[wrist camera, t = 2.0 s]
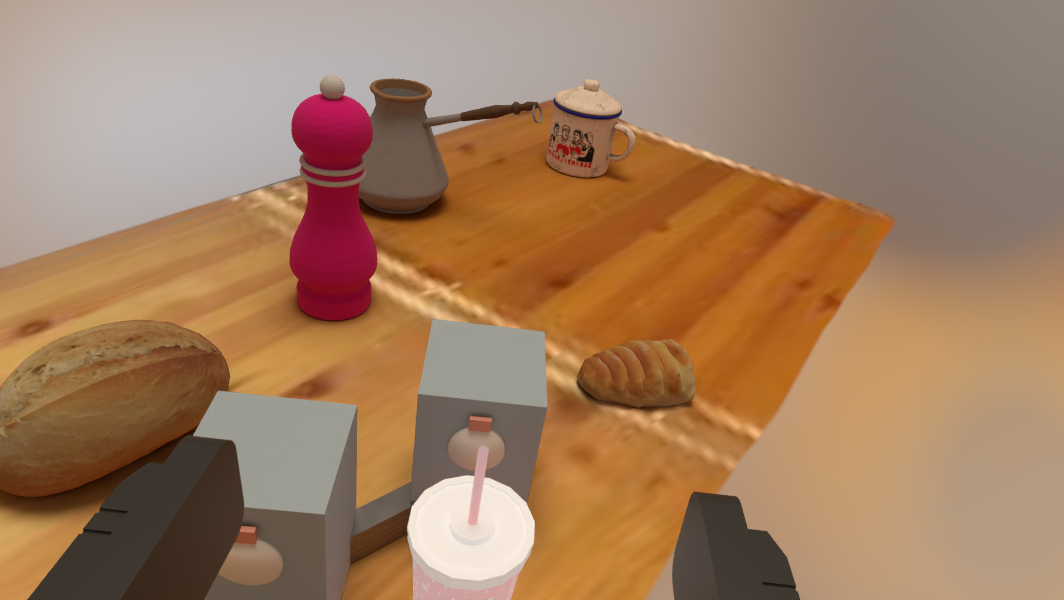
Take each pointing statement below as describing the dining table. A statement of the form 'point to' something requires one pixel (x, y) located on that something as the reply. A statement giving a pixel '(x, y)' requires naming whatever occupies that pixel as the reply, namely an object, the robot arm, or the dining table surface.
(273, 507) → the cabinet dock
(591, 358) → the pastry
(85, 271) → the dining table surface
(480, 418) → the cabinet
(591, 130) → the teacup with lid
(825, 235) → the dining table surface
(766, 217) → the dining table surface
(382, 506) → the track rail
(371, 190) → the coffee pot
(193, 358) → the bread roll
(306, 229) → the pepper mill
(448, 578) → the beverage cup
